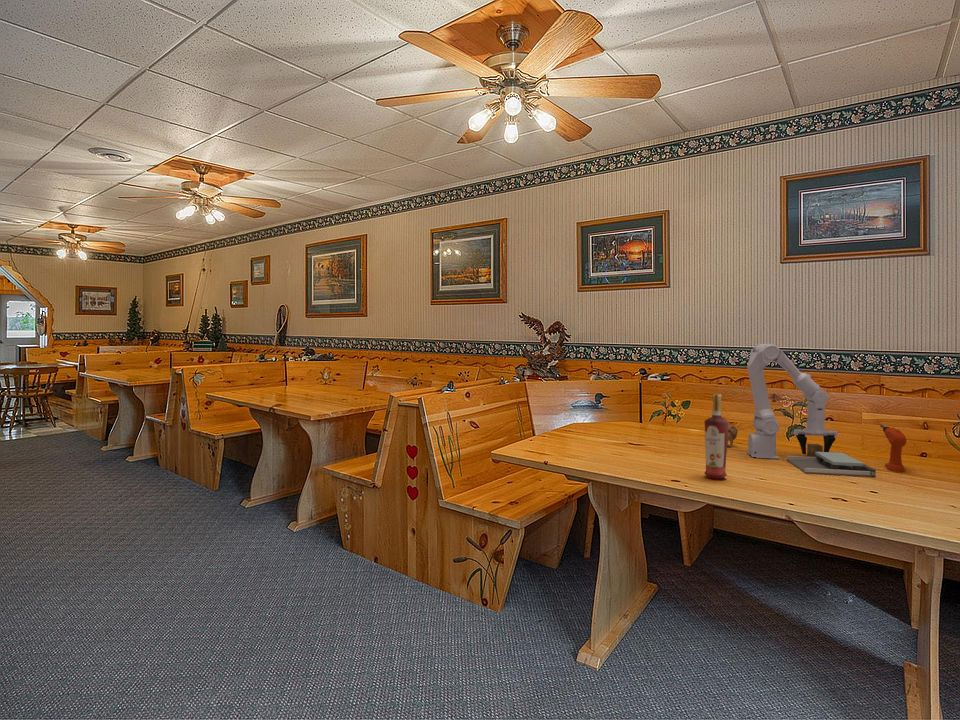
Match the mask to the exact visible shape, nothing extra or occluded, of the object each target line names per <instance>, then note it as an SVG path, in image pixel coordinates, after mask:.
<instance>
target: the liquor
mask: <svg viewBox="0 0 960 720" xmlns="http://www.w3.org/2000/svg"><path fill="white" fill-rule="evenodd" d="M721 403H722V394H721V393H712V413H711V417H708V418H707V419H706V420H704V443H705V444H704V445H705V471H704V472H703V473H704V474H705V476H707V478H708V479H710V480H711V479H712V480H723V479H724V478H726V476H728V475H727V473H726V468H727V466H726V465H727V449H728V447H727V440H728V427H729V426H730V423H729V421H728V420H727V419H725V418H722V417H723V416H722V405H721Z"/></svg>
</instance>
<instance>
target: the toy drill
mask: <svg viewBox="0 0 960 720" xmlns="http://www.w3.org/2000/svg"><path fill="white" fill-rule="evenodd" d="M879 426H880V427H881V428H882V432H883V434H884V435H885V437H886V439H887V441H888V443H890V445H891V446H890V452H889V453H890V454H889V461H888V462H887V463H885V464H884V468H885V467H886V468H887V469H886V468H885V469H886V470H888V469H889V470H888V471H890V470H891V472H894V471H896V472H897V473H905V472H904V471H906V468H905V466H904V465H903V462H902V460H903V459H902V451H903V448H904V447H905V446H906V444H907V436H906V435H905V434H904V433H903V432H902V431H901V430H900V429H897V428H895V427H890V426H885V425H884V424H880V425H879ZM896 472H895V473H896Z"/></svg>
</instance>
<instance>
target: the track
mask: <svg viewBox="0 0 960 720" xmlns="http://www.w3.org/2000/svg"><path fill="white" fill-rule="evenodd" d="M786 462H788V463H790V464H791V465H792V464H793V466H794V467H795V468H797V469H798V470H799V469H800V471H801V472H803V474H807V475H810V474H811V475H825V476H840V475H841V476H842V475H843V477H859V478H862V477H863V478H876V477H877V475H876V473H877V470H876V469H874V468H872V467H871V466H869V465H867V464H865V463H863V466H861V467H862V470H861V471H854V470H853V466H847V465H839V466H840V469H839V470H834V469H831V465H832V464H831V463H829V462H828V461H826V460H824V461H823V462H819V461H817V459H816V457H807V456H801V455H800V456H797V455H796V456H795V455H787V456H786Z"/></svg>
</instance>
